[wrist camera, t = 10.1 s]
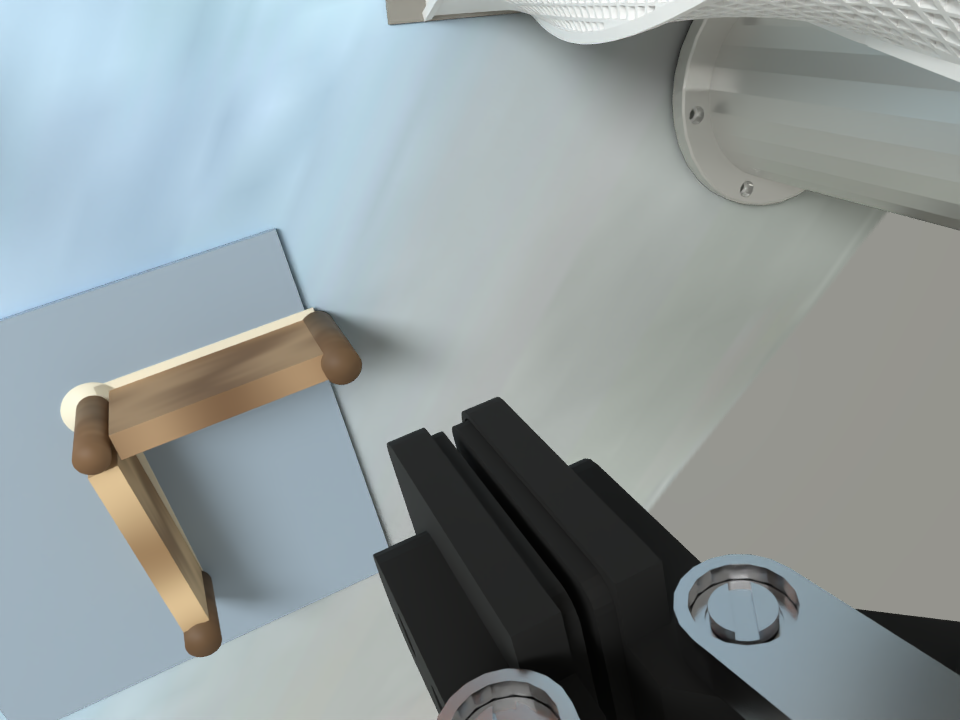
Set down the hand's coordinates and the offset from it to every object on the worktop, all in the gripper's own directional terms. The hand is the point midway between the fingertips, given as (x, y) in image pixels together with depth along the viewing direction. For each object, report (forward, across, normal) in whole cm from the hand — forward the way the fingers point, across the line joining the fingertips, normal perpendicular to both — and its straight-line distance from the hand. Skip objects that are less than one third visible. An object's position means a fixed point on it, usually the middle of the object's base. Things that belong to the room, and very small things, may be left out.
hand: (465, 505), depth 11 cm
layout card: (+27, +9, +13) cm, 31 cm away
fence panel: (+27, +9, +14) cm, 31 cm away
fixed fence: (+27, +4, +8) cm, 28 cm away
